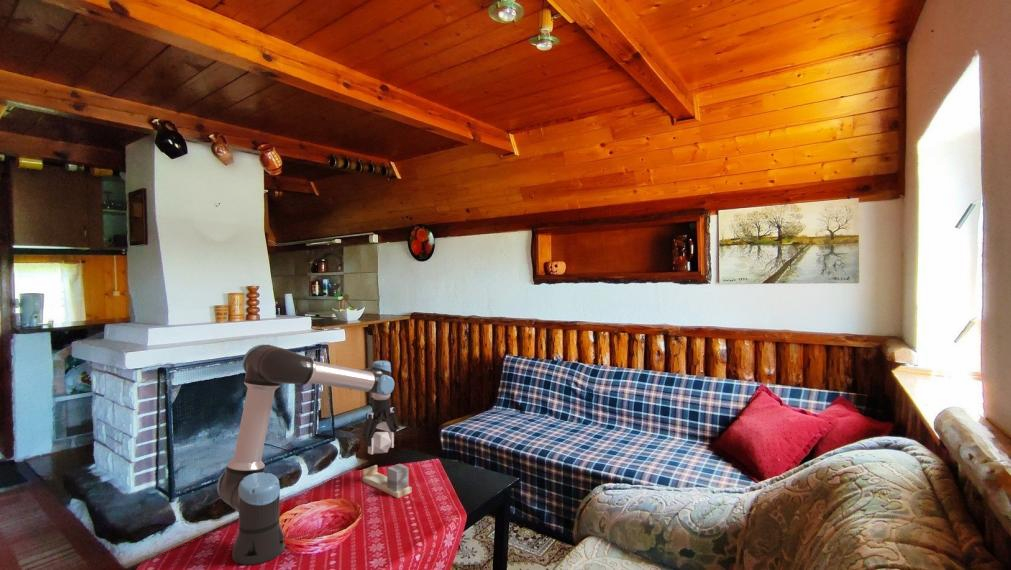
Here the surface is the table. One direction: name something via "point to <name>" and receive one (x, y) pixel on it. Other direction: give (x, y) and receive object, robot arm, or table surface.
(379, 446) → the die
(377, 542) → the table surface
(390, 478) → the rail
